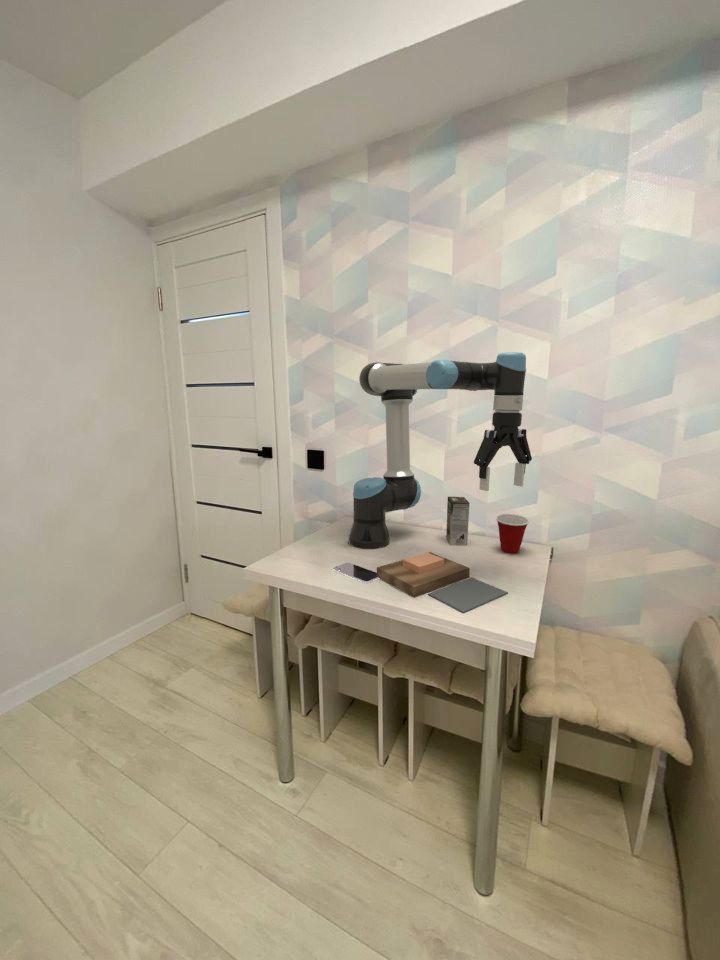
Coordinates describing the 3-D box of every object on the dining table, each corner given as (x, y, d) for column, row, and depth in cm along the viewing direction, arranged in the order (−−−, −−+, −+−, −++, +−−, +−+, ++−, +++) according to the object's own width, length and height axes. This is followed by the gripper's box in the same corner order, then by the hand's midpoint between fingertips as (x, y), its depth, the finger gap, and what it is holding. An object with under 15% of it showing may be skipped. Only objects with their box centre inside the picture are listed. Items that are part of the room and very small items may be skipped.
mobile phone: (366, 582, 114) (330, 567, 124) (366, 585, 115) (330, 570, 125) (383, 574, 120) (347, 561, 130) (383, 577, 120) (347, 564, 130)
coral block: (402, 565, 120) (402, 559, 120) (426, 558, 126) (427, 552, 125) (419, 573, 114) (419, 566, 114) (443, 565, 120) (444, 559, 120)
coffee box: (445, 537, 156) (447, 496, 153) (462, 537, 155) (464, 496, 153) (449, 545, 147) (451, 501, 144) (467, 545, 146) (470, 502, 144)
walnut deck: (376, 577, 119) (376, 567, 119) (429, 560, 132) (430, 551, 131) (414, 597, 107) (414, 586, 106) (469, 577, 119) (469, 567, 119)
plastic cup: (497, 556, 136) (500, 522, 134) (490, 545, 146) (492, 513, 144) (531, 557, 135) (534, 522, 133) (521, 546, 146) (523, 514, 143)
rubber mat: (427, 594, 108) (427, 593, 108) (471, 578, 118) (471, 577, 118) (463, 613, 98) (463, 611, 98) (507, 593, 109) (508, 592, 109)
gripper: (484, 412, 102) (478, 494, 106) (549, 411, 113) (542, 486, 117) (463, 411, 108) (458, 489, 112) (527, 411, 120) (521, 481, 124)
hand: (501, 487), depth 115 cm, fingers open, 13 cm apart
